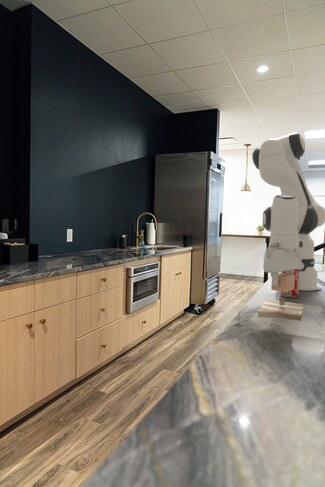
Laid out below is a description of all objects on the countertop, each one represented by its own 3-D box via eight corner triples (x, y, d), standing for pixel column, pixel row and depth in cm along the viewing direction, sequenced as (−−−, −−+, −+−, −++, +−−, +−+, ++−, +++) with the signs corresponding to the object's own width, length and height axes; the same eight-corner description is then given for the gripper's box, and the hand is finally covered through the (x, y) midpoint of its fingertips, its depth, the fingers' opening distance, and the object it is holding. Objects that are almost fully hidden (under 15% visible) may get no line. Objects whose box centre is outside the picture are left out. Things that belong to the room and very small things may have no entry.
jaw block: (279, 287, 115) (280, 272, 114) (294, 289, 111) (295, 274, 111) (271, 289, 109) (272, 275, 109) (286, 292, 106) (286, 277, 106)
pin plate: (266, 303, 121) (266, 290, 121) (303, 308, 116) (304, 294, 115) (257, 315, 106) (258, 299, 106) (300, 320, 100) (301, 304, 100)
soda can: (295, 294, 138) (296, 266, 138) (300, 298, 131) (302, 269, 131) (278, 294, 139) (279, 266, 138) (282, 298, 132) (284, 268, 131)
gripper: (277, 244, 100) (275, 288, 101) (306, 242, 114) (304, 281, 115) (259, 243, 105) (257, 285, 106) (288, 241, 119) (287, 279, 120)
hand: (282, 283), depth 110 cm, fingers closed on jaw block, 7 cm apart
